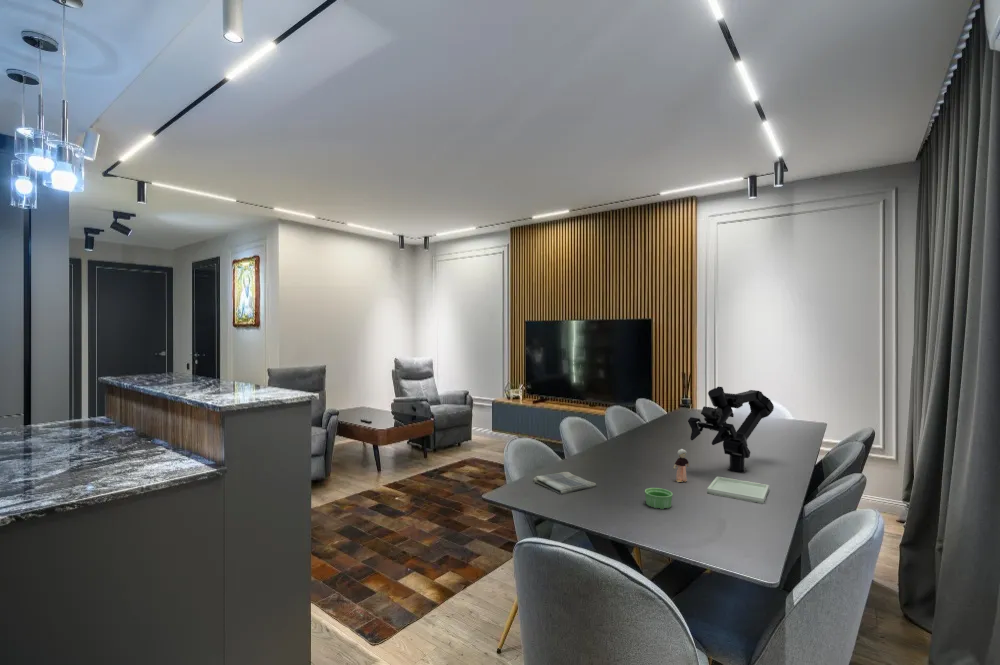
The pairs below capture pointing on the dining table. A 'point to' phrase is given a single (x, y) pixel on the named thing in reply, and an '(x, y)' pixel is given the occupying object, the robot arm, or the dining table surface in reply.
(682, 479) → the grandmother figurine
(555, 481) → the dish towel
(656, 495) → the ramekin
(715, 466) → the dining table surface
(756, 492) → the sage tray
